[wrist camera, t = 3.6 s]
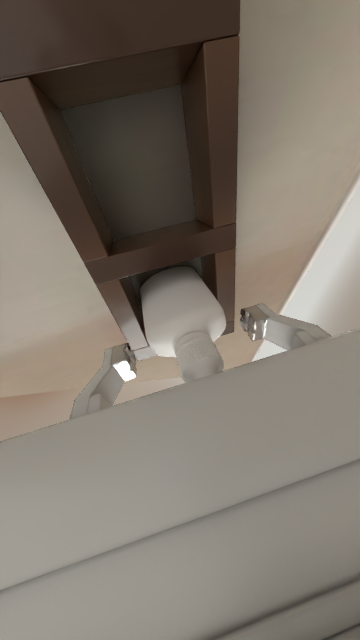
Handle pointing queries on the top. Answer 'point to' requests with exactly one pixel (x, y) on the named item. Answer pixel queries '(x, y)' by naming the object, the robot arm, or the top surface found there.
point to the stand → (116, 81)
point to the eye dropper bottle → (183, 321)
